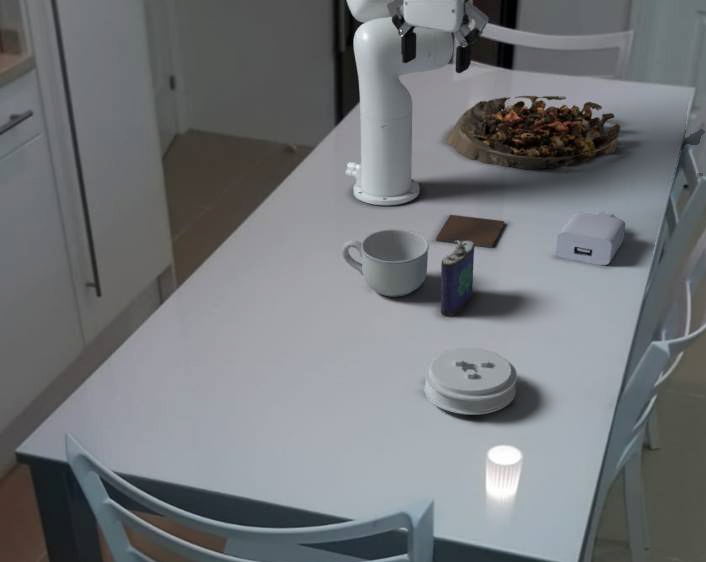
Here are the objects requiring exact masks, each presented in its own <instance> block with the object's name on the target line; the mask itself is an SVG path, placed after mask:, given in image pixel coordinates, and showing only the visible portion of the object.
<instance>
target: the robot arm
mask: <svg viewBox="0 0 706 562" xmlns="http://www.w3.org/2000/svg"><path fill="white" fill-rule="evenodd" d="M346 3H347V6H348V9H349V11H350V13H351V15H352V17H353V18H354V19H355V20H356V21H358V22H360V23H362V24H361V25H360V26H359V27H357V29H356V30H355V32H354V36H353V53H354V58H355V65H356V71H357V78H358V79H357V80H358V91H359V117H360V118H359V120H360V121H359V122H360V124H359V125H360V163H358V162H356V161H355V162H354V161H349V162H347V165H346V170H345V176H347V177H350V178H354V179H355V180H356V182H355V183H354V185H353V188H352V189H353V196H354V197H355V198H356V199H357V200H359V201H361V202H363V203H366V204H369V205H376V206H397V205H403V204H406V203H408V202H411V201H413V200H415V199H416V198H418V196H419V195H420V184H419V183H418V182H417V181H416V180H415V179H414V178H412V175H413V174H412V172H413V171H412V169H413V168H412V166H413V164H412V163H413V162H412V161H413V97H412V95H411V93H410V91H409V89H408V88H407V87H406V86H405V84H403V83H402V81H401V80H400V77H401V76H403V75H408V74H415V73H421V72H423V73H424V72H430V71H434V70H440V69H442V68H444V67H446V66H447V65H448V64H449V63H450V61H451V59H452V56H453V53H454V40H453V35H454V37H455V39H456V41H457V42H458V44H459V45H457V47H456V49H455V73H456V74H462V73H463V72H465V71H467V70H469V68H470V66H471V63H472V47H473V46H472V44H473V43H475V42H476V40H477V39H478V38H479V37H480V36H482V34H483V33H484V30H485V28H486V26H487V24H488V22H489V16H488V15H486V14H485V13H484V12H483V11H482V10H481V9H479V8H478V7H476V6H475V5H474V4H473V3H474V0H346ZM473 21H474V26H473V28H472V30H471V27H469V26H470V25H471V24H472V22H473Z"/></svg>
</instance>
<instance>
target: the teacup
mask: <svg viewBox="0 0 706 562" xmlns="http://www.w3.org/2000/svg"><path fill="white" fill-rule="evenodd" d="M351 248H355V250H357V251H358V253H359V256H360V257H361V262H359V261H357V260H356V259H355V258H353V257H352V256H351V254H350V252H349V250H350V249H351ZM429 249H430V243H429V241H428V239H427V238H426V237H425V236H424V235H422V234H420V233H419V232H416V231H413V230H410V229H404V228H385V229H380V230H377V231H374V232H371V233H370V234H369V235H367V236H366V237H365V238H363V240H362V241H361V242H360V241H359V240H356V239H350V240H348V241H346V242H345V243H344V245H343V246H342V250H341V254H342V257H343V259H344V261H345V263H346V264H348V265H349V266H351V268H353V269H354V270H356V271H358V272H359V274H360V275H361V276H363V279H364V281H365V283H366V284H367V286H369V288H370V289H372V290H373V291H375V292H377V293H378V294H380V295H382V296H385V297H392V298H393V297H394V298H397V297H398V298H399V297H403V296H406V295H409V294H411V293H413V292H414V291H415V290H417V289H418V288H420V287H421V286H422V285H423V283H424V282H425V280H426V276H427V273H428V272H427V271H428V262H429V261H428V258H429Z"/></svg>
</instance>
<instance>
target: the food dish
mask: <svg viewBox="0 0 706 562" xmlns="http://www.w3.org/2000/svg"><path fill="white" fill-rule="evenodd" d="M514 98H515V99H518V98H519V99H520V98H523V99H529V100H530V101H531V106H530V107H529V108H528V106H525V105H526V103H525V101H523V100H519V101H517V102H516V103H514V104H512V105H508V106H507V107H506V102H507V100H510V99H511V97H506V96H504V97H498V98H492V99H490V100H487V101H486V100H481V101H479V102H477V103H475V104H474V105H473V106H471V107H470V108H468V109H467V110H466V111H464V113H463V114H462V115H461V116H460V117H459V118H458V120H457V121H456V123H455V125H454V127H453V129H452V130H451V131H450V132H449V133H448V135H447V138H446V141H445V143H446V144H448V145H449V146H451V147H452V148H454V149H455V150H456V151H457V153H460V154H462V155H463V156H464V157H466V158H468V159H470V160H474V161H475V160H477V161H480V162H482V163H484V164H493V165H498V166H501V167H506V168H511V167H512V168H517V169H520V170H521V169H522V170H539V169H544V168H545V169H547V168H549V169H552V168H553V169H554V168H558V167H573V166H575V165H579V164H581V163H587V162H589V161H590V160H591V159H592V158H597V157H598V156H599V155H602V154H605V155H610V154H614V153H615V152H616V148H617V145H618V139H619V136H620V133H621V124H619V123H614V124H613V125H612V126H611V127H610V128H609V130H608V133H607V132H606V131H605V128H604V127H605V124H606V122H607V121H608V120H610V119H614V118H615V114H614V113H612V112H610V113H609V112H608V113H603V114H602V115H601V118H600V117H598V116H595V117H593V112H592V110H596V111H600V110H602V109H603V106H602V105H600V104H598V103H595V102H592V101H586V102H585V103H584V104H583V106H582V109H581V110H580V107H578V106H576V104H574V105H572V107H571V108H569V106H568V105H567V104H562V106H560V107H556V106H554V105H553V106H552V105H551V106H548V107H547V108H546V106H547V104H546V102H545V100H543V99H547V101H552V100H555V101H562V100H567V96H563V95H561V96H559V95H544V96H537V95H518V96H514ZM539 99H541V100H539ZM545 108H546V109H545ZM592 117H593V118H592Z"/></svg>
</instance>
